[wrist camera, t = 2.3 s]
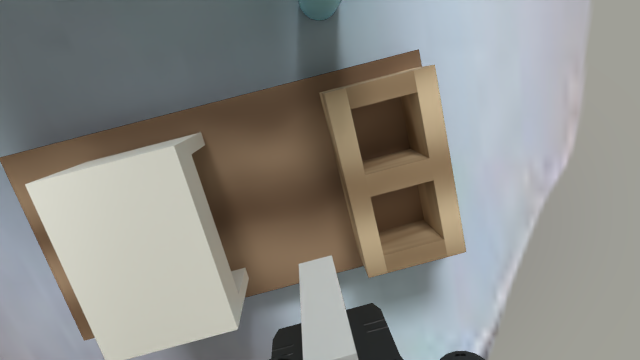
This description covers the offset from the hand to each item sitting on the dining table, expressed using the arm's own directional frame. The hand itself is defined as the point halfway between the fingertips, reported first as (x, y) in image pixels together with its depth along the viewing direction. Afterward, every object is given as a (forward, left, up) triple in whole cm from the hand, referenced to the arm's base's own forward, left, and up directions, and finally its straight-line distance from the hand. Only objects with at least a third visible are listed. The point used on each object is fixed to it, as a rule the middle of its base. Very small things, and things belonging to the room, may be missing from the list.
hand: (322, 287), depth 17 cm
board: (-2, -4, -11) cm, 12 cm away
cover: (-2, -8, -8) cm, 12 cm away
